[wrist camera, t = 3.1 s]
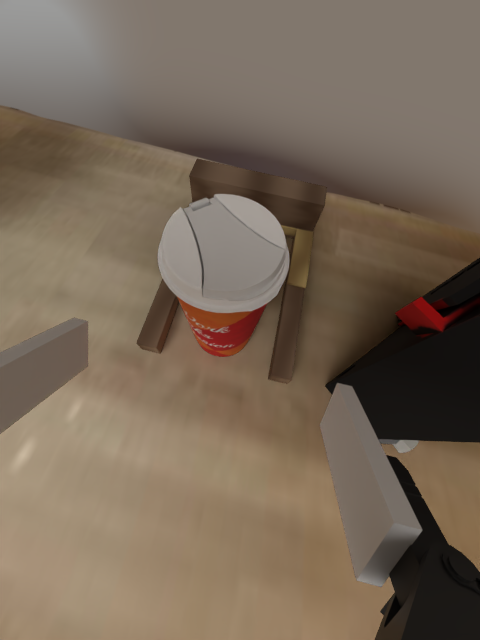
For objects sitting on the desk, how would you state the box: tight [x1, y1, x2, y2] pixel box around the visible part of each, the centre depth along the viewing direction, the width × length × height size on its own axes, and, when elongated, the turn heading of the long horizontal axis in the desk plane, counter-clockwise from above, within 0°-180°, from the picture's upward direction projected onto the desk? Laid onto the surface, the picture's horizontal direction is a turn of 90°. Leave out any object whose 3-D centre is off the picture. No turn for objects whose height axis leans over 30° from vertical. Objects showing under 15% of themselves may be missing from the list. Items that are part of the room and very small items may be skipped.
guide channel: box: [137, 159, 327, 384], centre depth 29 cm, size 16×22×6 cm
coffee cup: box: [158, 194, 290, 357], centre depth 22 cm, size 8×8×15 cm
